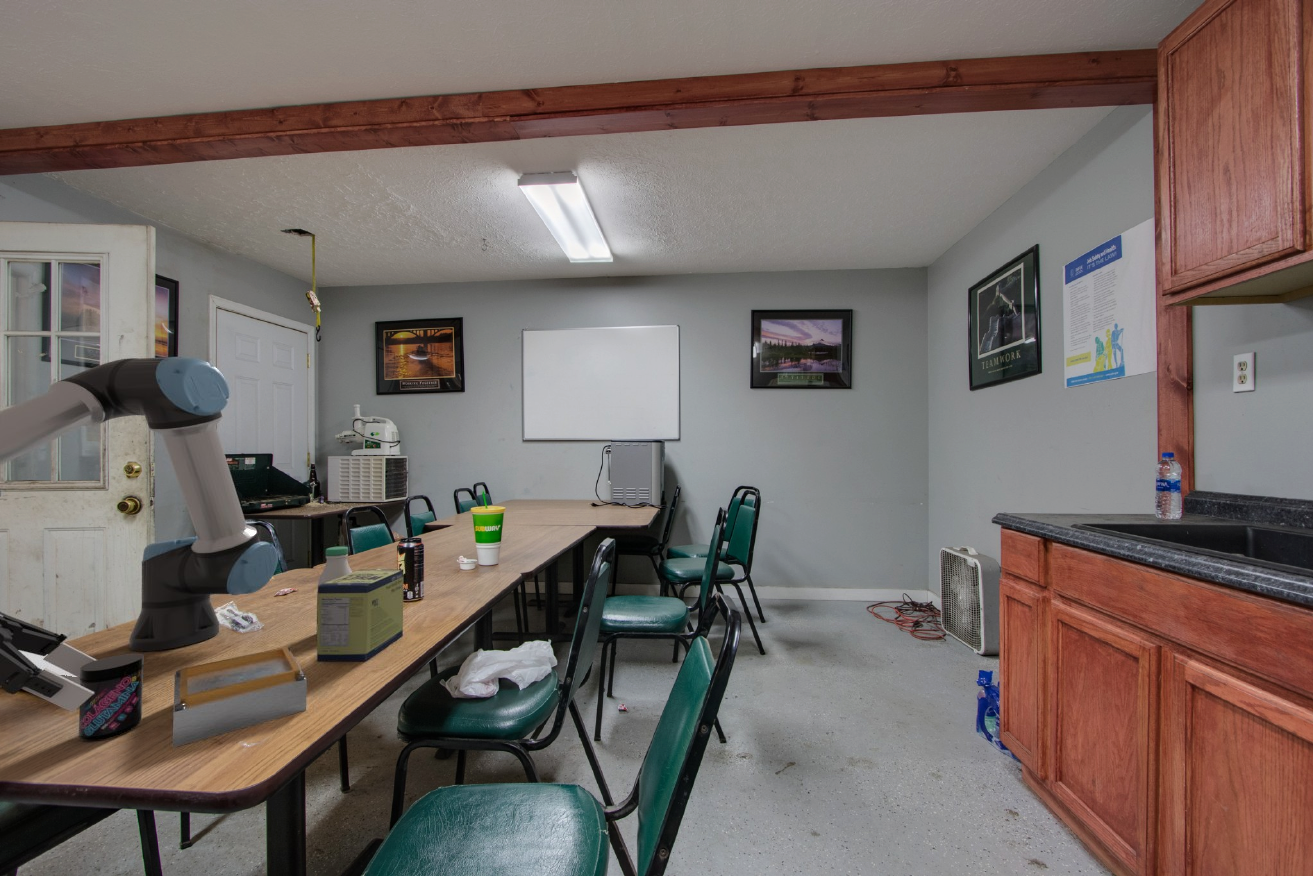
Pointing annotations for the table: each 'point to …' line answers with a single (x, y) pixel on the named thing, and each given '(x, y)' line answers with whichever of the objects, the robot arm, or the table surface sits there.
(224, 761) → the table surface
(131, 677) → the supplement container
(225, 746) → the table surface
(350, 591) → the protein box
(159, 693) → the table surface
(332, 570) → the milk bottle
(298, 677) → the wood-rimmed grey tray
